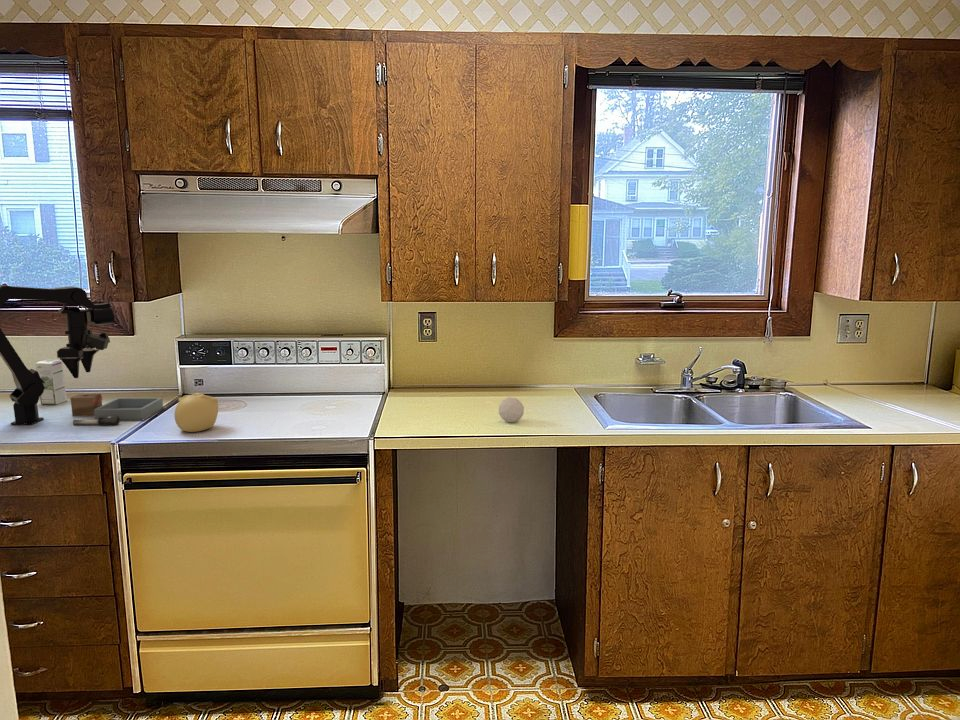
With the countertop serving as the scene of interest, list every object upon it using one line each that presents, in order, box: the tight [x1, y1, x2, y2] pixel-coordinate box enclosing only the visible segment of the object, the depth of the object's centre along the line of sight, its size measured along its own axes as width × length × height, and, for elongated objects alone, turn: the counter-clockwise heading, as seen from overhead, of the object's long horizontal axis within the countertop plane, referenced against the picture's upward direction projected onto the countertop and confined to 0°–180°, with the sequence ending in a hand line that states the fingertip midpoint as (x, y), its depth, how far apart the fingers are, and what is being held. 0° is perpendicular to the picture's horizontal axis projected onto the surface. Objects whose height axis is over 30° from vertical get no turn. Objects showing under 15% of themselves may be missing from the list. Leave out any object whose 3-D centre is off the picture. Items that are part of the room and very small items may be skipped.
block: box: [70, 393, 103, 417], centre depth 224 cm, size 5×7×6 cm
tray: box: [94, 397, 164, 421], centre depth 223 cm, size 15×15×4 cm
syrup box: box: [35, 359, 68, 405], centre depth 237 cm, size 6×6×14 cm
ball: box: [498, 396, 525, 424], centre depth 214 cm, size 8×8×8 cm
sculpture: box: [174, 392, 219, 433], centre depth 206 cm, size 12×12×11 cm
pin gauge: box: [72, 416, 120, 426], centre depth 212 cm, size 13×3×3 cm, turn 90°
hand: (82, 375), depth 224 cm, fingers open, 9 cm apart
